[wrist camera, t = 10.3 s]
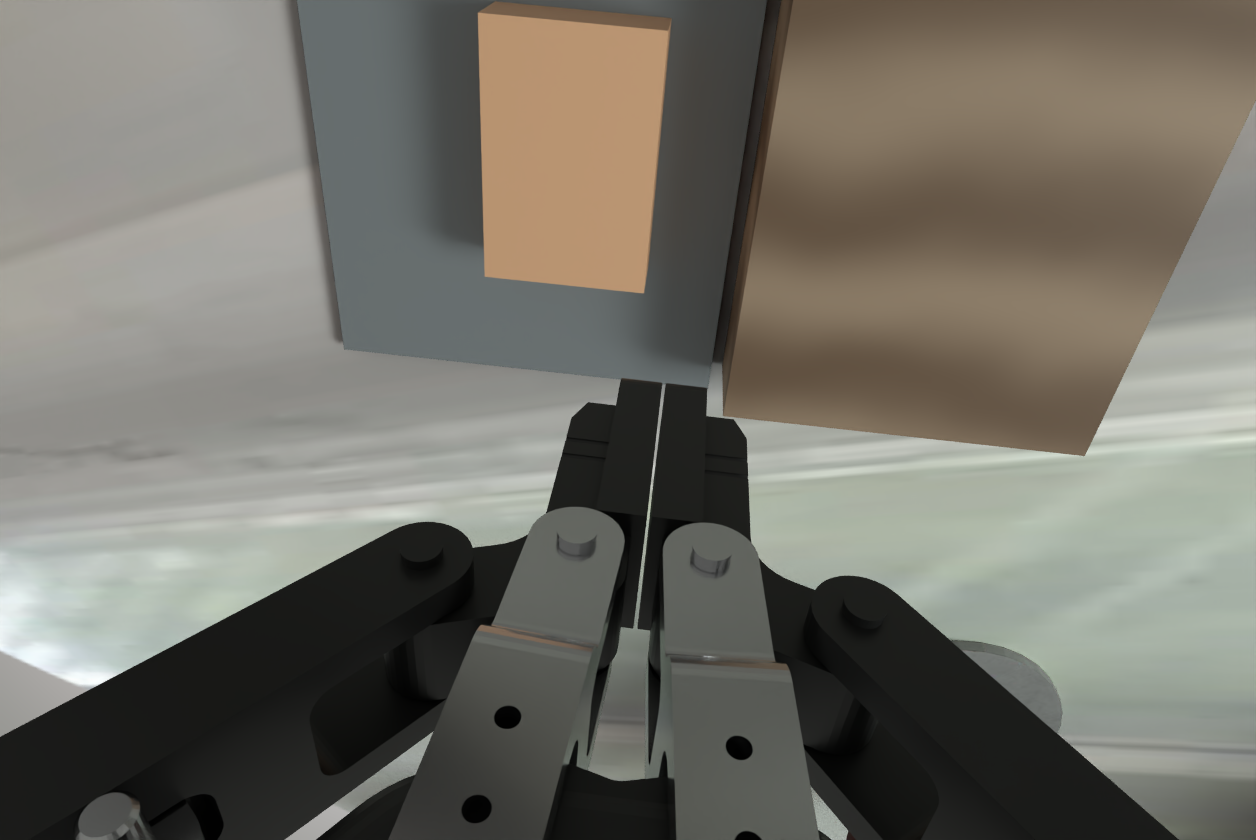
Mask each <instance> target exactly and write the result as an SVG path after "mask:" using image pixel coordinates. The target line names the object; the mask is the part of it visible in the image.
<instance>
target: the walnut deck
mask: <svg viewBox="0 0 1256 840" xmlns="http://www.w3.org/2000/svg"><path fill="white" fill-rule="evenodd" d="M1255 101H1256V0H781V4H780V10H779V16H778V22H777V29H776V35H775V41H774V47H773V53H772V60H771V66H770V72H769V78H768V84H767V91H766V97H765V103H764V109H763V115H762V122H761V128H760V134H759V140H758V147H757V153H756V159H755V165H754V171H753V178H752V184H751V190H750V196H749V202H748V209H747V215H746V221H745V227H744V233H743V240H742V246H741V252H740V258H739V264H738V271H737V277H736V283H735V289H734V295H733V302H732V308H731V314H730V320H729V326H728V333H727V339H726V345H725V351H724V358H723V364H722V374H723V416H728V417H737V418H746V419H755V420H764V421H773V422H782V423H791V424H800V425H809V426H818V427H828V428H837V429H846V430H855V431H864V432H873V433H882V434H891V435H900V436H909V437H918V438H927V439H936V440H945V441H954V442H963V443H972V444H981V445H990V446H999V447H1009V448H1018V449H1027V450H1036V451H1045V452H1054V453H1063V454H1072V455H1081V456H1085V454H1086V452H1087V450H1088V448H1089V446H1090V444H1091V442H1092V440H1093V438H1094V436H1095V433H1096V431H1097V429H1098V427H1099V425H1100V423H1101V421H1102V419H1103V417H1104V415H1105V413H1106V411H1107V409H1108V406H1109V404H1110V402H1111V400H1112V398H1113V396H1114V394H1115V392H1116V390H1117V388H1118V386H1119V384H1120V382H1121V379H1122V377H1123V375H1124V373H1125V371H1126V369H1127V367H1128V365H1129V363H1130V361H1131V359H1132V357H1133V355H1134V352H1135V350H1136V348H1137V346H1138V344H1139V342H1140V340H1141V338H1142V336H1143V334H1144V332H1145V330H1146V327H1147V325H1148V323H1149V321H1150V319H1151V317H1152V315H1153V313H1154V311H1155V309H1156V307H1157V305H1158V303H1159V300H1160V298H1161V296H1162V294H1163V292H1164V290H1165V288H1166V286H1167V284H1168V282H1169V280H1170V278H1171V276H1172V273H1173V271H1174V269H1175V267H1176V265H1177V263H1178V261H1179V259H1180V257H1181V255H1182V253H1183V251H1184V249H1185V246H1186V244H1187V242H1188V240H1189V238H1190V236H1191V234H1192V232H1193V230H1194V228H1195V226H1196V224H1197V221H1198V219H1199V217H1200V215H1201V213H1202V211H1203V209H1204V207H1205V205H1206V203H1207V201H1208V199H1209V197H1210V194H1211V192H1212V190H1213V188H1214V186H1215V184H1216V182H1217V180H1218V178H1219V176H1220V174H1221V172H1222V170H1223V167H1224V165H1225V163H1226V161H1227V159H1228V157H1229V155H1230V153H1231V151H1232V149H1233V147H1234V145H1235V143H1236V140H1237V138H1238V136H1239V134H1240V132H1241V130H1242V128H1243V126H1244V124H1245V122H1246V120H1247V118H1248V116H1249V113H1250V111H1251V109H1252V107H1253V105H1254V103H1255Z"/></svg>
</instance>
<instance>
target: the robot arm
mask: <svg viewBox="0 0 1256 840" xmlns="http://www.w3.org/2000/svg"><path fill="white" fill-rule="evenodd" d="M661 389H662V383H661V382H653V381H644V380H636V379H627V378H621V382H620V387H619V393H618V398H617V403H616V406H615V405H606V404H598V403H590V402H588V403H587V404H586V405H585V406H584V407H583V408H582V409H581V410H579V411H578V412H577V413H576V414H575V415H574V416H573V417H572V419H571V422H570V426H569V430H568V434H567V438H566V441H565V445H564V449H563V452H562V457H561V460H560V464H559V467H558V471H557V475H556V479H555V482H554V486H553V490H552V494H551V497H550V501H549V505H548V509H547V512H546V514H544V515H543V516H541V517H540V518H539V519H538V520H537V521H536V522H535V523H534V524H533V525H532V527H531V529H530V531H529V534H528V535H526V536H524V537H523V538H520V539H518V540H515V541H512V542H509V543H505V544H499V545H492V546H483V547H475V548H472V545H471V542H470V541H469V539H468V538H467V537H466V536H465V535H464V534H463V533H462V532H461V531H459V530H458V529H456V528H454V527H452V526H449V525H446V524H442V523H436V522H418V523H413V524H408V525H405V526H402V527H399V528H397V529H395V530H393V531H391V532H389V533H387V534H385V535H383V536H381V537H379V538H377V539H375V540H374V541H372V542H370V543H368V544H366V545H364V546H362V547H360V548H358V549H356V550H355V551H353V552H351V553H349V554H347V555H345V556H343V557H341V558H339V559H337V560H336V561H334V562H332V563H330V564H328V565H326V566H324V567H322V568H320V569H318V570H317V571H315V572H313V573H311V574H309V575H307V576H305V577H303V578H301V579H299V580H298V581H296V582H294V583H292V584H290V585H288V586H286V587H284V588H282V589H280V590H279V591H277V592H275V593H273V594H271V595H269V596H267V597H265V598H263V599H261V600H260V601H258V602H256V603H254V604H252V605H250V606H248V607H246V608H244V609H242V610H240V611H239V612H237V613H235V614H233V615H231V616H229V617H227V618H225V619H223V620H221V621H220V622H218V623H216V624H214V625H212V626H210V627H208V628H206V629H204V630H202V631H201V632H199V633H197V634H195V635H193V636H191V637H189V638H187V639H185V640H183V641H182V642H180V643H178V644H176V645H174V646H172V647H170V648H168V649H166V650H164V651H163V652H161V653H159V654H157V655H155V656H153V657H151V658H149V659H147V660H145V661H144V662H142V663H140V664H138V665H136V666H134V667H132V668H130V669H128V670H126V671H125V672H123V673H121V674H119V675H117V676H115V677H113V678H111V679H109V680H107V681H106V682H104V683H102V684H100V685H98V686H96V687H94V688H92V689H90V690H88V691H86V692H85V693H83V694H81V695H79V696H77V697H75V698H73V699H72V700H69V701H68V702H66V703H64V704H62V705H60V706H58V707H56V708H54V709H52V710H50V711H48V712H47V713H45V714H43V715H41V716H39V717H37V718H36V719H33V720H31V721H30V722H28V723H26V724H24V725H22V726H20V727H18V728H16V729H14V730H12V731H11V732H9V733H7V734H5V735H3V736H1V737H0V840H284V839H286V838H287V837H289V836H290V835H291V834H293V833H294V832H296V831H297V830H298V829H300V828H301V827H302V826H304V825H305V824H307V823H308V822H309V821H311V820H312V819H313V818H315V817H316V816H318V815H319V814H320V813H322V812H323V811H324V810H326V809H327V808H329V807H330V806H331V805H333V804H334V803H335V802H337V801H338V800H340V799H341V798H342V797H344V796H345V795H346V794H348V793H349V792H351V791H352V790H353V789H355V788H356V787H357V786H359V785H360V784H362V783H363V782H364V781H366V780H367V779H368V778H370V777H371V776H373V775H374V774H375V773H377V772H378V771H379V770H381V769H382V768H384V767H385V766H386V765H388V764H389V763H390V762H392V761H393V760H395V759H396V758H397V757H399V756H400V755H401V754H403V753H404V752H406V751H407V750H408V749H410V748H411V747H412V746H414V745H415V744H417V743H418V742H419V741H421V740H422V739H423V738H425V737H426V736H428V735H429V734H430V733H432V732H433V731H434V732H433V734H432V736H431V739H430V741H429V744H428V746H427V748H426V751H425V753H424V756H423V758H422V760H421V763H420V765H419V768H418V770H417V772H416V775H414V776H411V777H408V778H405V779H403V780H401V781H399V782H397V783H395V784H393V785H391V786H389V787H387V788H385V789H383V790H382V791H380V792H379V793H377V794H375V795H374V796H372V797H370V798H369V799H367V800H366V801H365V802H363V803H362V804H361V805H359V806H358V807H357V808H355V809H354V810H353V811H352V812H350V813H349V814H348V815H347V816H345V817H344V818H343V819H342V820H340V821H339V822H338V823H337V824H335V825H334V826H333V827H332V828H330V829H329V830H328V831H326V832H325V833H324V834H323V835H321V836H320V837H319V838H318V839H316V840H831V839H830V838H829V837H827V836H826V835H825V834H823V833H822V832H820V831H819V830H818V827H817V821H816V816H815V810H814V804H813V798H812V792H811V787H812V788H813V789H814V790H815V792H816V793H817V794H818V795H819V796H820V797H821V799H822V800H823V801H824V802H825V803H826V805H827V806H828V807H829V808H830V809H831V810H832V812H833V813H834V814H835V815H836V816H837V818H838V819H839V820H840V821H841V822H842V824H843V825H844V826H845V827H846V828H847V829H848V831H849V832H850V833H851V834H852V835H853V837H854V838H855V839H856V840H1178V839H1177V838H1176V837H1175V836H1174V835H1173V834H1172V833H1170V832H1169V831H1168V830H1167V829H1166V828H1165V827H1164V826H1162V825H1161V824H1160V823H1159V822H1158V821H1157V820H1156V819H1154V818H1153V817H1152V816H1151V815H1150V814H1149V813H1148V812H1146V811H1145V810H1144V809H1143V808H1142V807H1141V806H1139V805H1138V804H1137V803H1136V802H1135V801H1134V800H1133V799H1131V798H1130V797H1129V796H1128V795H1127V794H1126V793H1125V792H1123V791H1122V790H1121V789H1120V788H1119V787H1118V786H1117V785H1115V784H1114V783H1113V782H1112V781H1111V780H1110V779H1109V778H1107V777H1106V776H1105V775H1104V774H1103V773H1102V772H1100V771H1099V770H1098V769H1097V768H1096V767H1095V766H1094V765H1092V764H1091V763H1090V762H1089V761H1088V760H1087V759H1086V758H1084V757H1083V756H1082V755H1081V754H1080V753H1079V752H1078V751H1076V750H1075V749H1074V748H1073V747H1072V746H1071V745H1070V744H1068V743H1067V742H1066V741H1065V740H1064V739H1063V738H1061V737H1060V736H1059V735H1058V734H1057V733H1056V732H1055V731H1053V730H1052V729H1051V728H1050V727H1049V726H1048V725H1047V724H1045V723H1044V722H1043V721H1042V720H1041V719H1040V718H1039V717H1037V716H1036V715H1035V714H1034V713H1033V712H1032V711H1031V710H1029V709H1028V708H1027V707H1026V706H1025V705H1024V704H1022V703H1021V702H1020V701H1019V700H1018V699H1017V698H1016V697H1014V696H1013V695H1012V694H1011V693H1010V692H1009V691H1008V690H1006V689H1005V688H1004V687H1003V686H1002V685H1001V684H1000V683H998V682H997V681H996V680H995V679H994V678H993V677H991V676H990V675H989V674H988V673H987V672H986V671H985V670H983V669H982V668H981V667H980V666H979V665H978V664H977V663H975V662H974V661H973V660H972V659H971V658H970V657H969V656H967V655H966V654H965V653H964V652H963V651H962V650H961V649H959V648H958V647H957V646H956V645H955V644H954V643H952V642H951V641H950V640H949V639H948V638H947V637H946V636H944V635H943V634H942V633H941V632H940V631H939V630H938V629H936V628H935V627H934V626H933V625H932V624H931V623H930V622H928V621H927V620H926V619H925V618H924V617H923V616H922V615H920V614H919V613H918V612H917V611H916V610H915V609H913V608H912V607H911V606H910V605H909V604H908V603H907V602H905V601H904V600H903V599H902V598H901V597H900V596H899V595H897V594H896V593H895V592H893V591H892V590H891V589H889V588H888V587H886V586H884V585H882V584H880V583H878V582H876V581H873V580H870V579H867V578H863V577H858V576H839V577H834V578H831V579H828V580H826V581H824V582H823V583H821V584H820V585H819V586H818V587H817V588H816V590H813V589H811V588H808V587H805V586H803V585H800V584H797V583H795V582H792V581H790V580H788V579H785V578H783V577H782V576H780V575H778V574H776V573H775V572H773V571H772V570H771V569H769V568H768V567H767V566H766V565H765V564H764V563H763V562H762V561H761V560H760V559H759V557H758V553H757V551H756V549H755V547H754V546H753V545H752V543H751V537H750V512H749V487H748V463H747V439H746V437H745V436H744V434H743V433H742V431H741V430H740V428H739V427H738V425H737V424H736V422H735V421H734V419H725V418H717V417H708V416H706V407H707V388H705V387H696V386H688V385H679V384H671V383H666V386H665V394H664V402H663V410H662V418H661V426H660V434H659V442H658V450H657V458H656V466H655V474H654V483H653V492H652V501H651V510H650V519H649V528H648V537H647V547H646V556H645V565H644V574H643V583H642V592H641V601H640V610H639V619H638V629H643V630H650V641H649V652H648V659H647V666H646V674H645V779H639V780H630V781H615V780H611V779H608V778H605V777H603V776H600V775H598V774H595V773H593V772H590V771H588V768H589V764H590V760H591V755H592V751H593V747H594V742H595V738H596V734H597V729H598V725H599V721H600V716H601V712H602V708H603V703H604V699H605V695H606V690H607V686H608V682H609V677H610V673H611V666H612V660H613V658H614V657H615V655H616V653H617V649H618V643H619V635H620V628H621V627H626V628H633V626H634V618H635V609H636V601H637V593H638V585H639V577H640V569H641V561H642V553H643V544H644V536H645V528H646V520H647V512H648V503H649V494H650V485H651V477H652V468H653V459H654V450H655V442H656V433H657V424H658V415H659V407H660V398H661ZM810 786H811V787H810Z"/></svg>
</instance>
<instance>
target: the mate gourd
mask: <svg viewBox="0 0 1256 840" xmlns="http://www.w3.org/2000/svg"><path fill="white" fill-rule="evenodd" d="M951 642H952V643H954V644H955V645H956V646H957V647H958V648H959V649H961V650H962V651H963V652H964V653H965V654H966V655H967V656H969V657H970V658H971V659H972V660H973V661H974V662H975V663H977V664H978V665H979V666H980V667H981V668H982V669H983V670H985V671H986V672H987V673H988V674H989V675H990V676H991V677H993V678H994V679H995V680H996V681H997V682H998V683H1000V684H1001V685H1002V686H1003V687H1004V688H1005V689H1006V690H1008V691H1009V692H1010V693H1011V694H1012V695H1013V696H1014V697H1016V698H1017V699H1018V700H1019V701H1020V702H1021V703H1022V704H1024V705H1025V706H1026V707H1027V708H1028V709H1029V710H1031V711H1032V712H1033V713H1034V714H1035V715H1036V716H1037V717H1039V718H1040V719H1041V720H1042V721H1043V722H1044V723H1045V724H1047V725H1048V726H1049V727H1050V728H1051V729H1052V730H1053V731H1055V732H1056V733H1057V732H1058V730H1059V728H1060V724H1061V718H1062V708H1061V702H1060V698H1059V695H1058V693H1057V691H1056V689H1055V687H1054V685H1053V683H1052V681H1051V679H1050V677H1049V676H1048V675H1047V674H1046V673H1045V672H1044V671H1043V670H1042V669H1041V668H1040V667H1039V666H1038V665H1037V664H1036V663H1034V662H1032V661H1031V660H1029V659H1028V658H1026V657H1025V656H1023V655H1021V654H1019V653H1016V652H1014V651H1011V650H1008V649H1006V648H1003V647H999V646H995V645H990V644H986V643H981V642H969V641H951ZM846 840H856V839H855V838H854V837H853V835H852V834H851V833H850V832H849V831H848V835H847V839H846Z"/></svg>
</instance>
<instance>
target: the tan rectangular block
mask: <svg viewBox="0 0 1256 840" xmlns="http://www.w3.org/2000/svg"><path fill="white" fill-rule="evenodd" d="M671 20H672V18H664V17H654V16H643V15H633V14H622V13H612V12H601V11H591V10H580V9H570V8H559V7H549V6H538V5H528V4H517V3H507V2H496V1H495V2H494V3H492V4H490V5H489V6H487V7H486V8H484V9H483V10H481V11H480V12H478V38H479V77H480V116H481V154H482V193H483V232H484V271H485V277H492V278H501V279H511V280H520V281H530V282H539V283H549V284H558V285H568V286H577V287H587V288H596V289H606V290H615V291H625V292H634V293H644V290H645V284H646V277H647V271H648V264H649V254H650V243H651V232H652V222H653V211H654V201H655V190H656V179H657V169H658V158H659V147H660V137H661V126H662V115H663V105H664V94H665V84H666V73H667V62H668V52H669V41H670V30H671Z"/></svg>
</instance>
